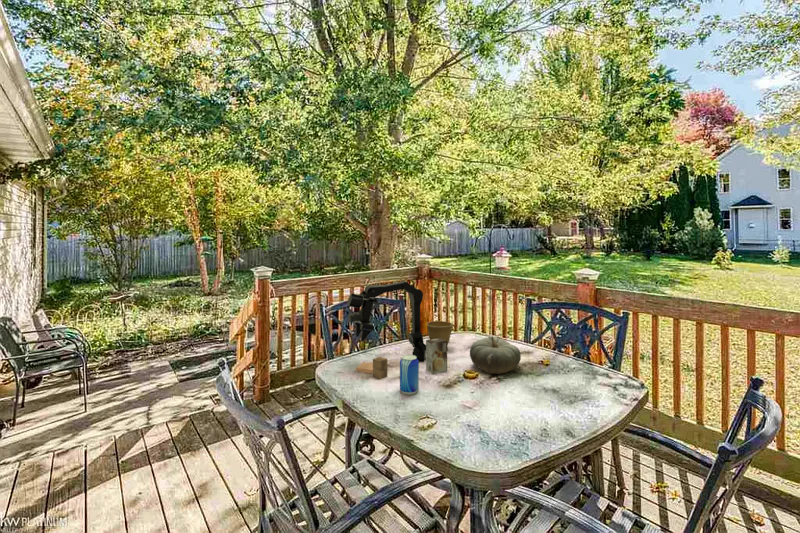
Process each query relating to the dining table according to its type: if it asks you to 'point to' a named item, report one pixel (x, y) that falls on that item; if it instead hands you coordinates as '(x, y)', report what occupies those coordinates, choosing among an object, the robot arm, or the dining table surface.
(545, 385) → the dining table surface
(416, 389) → the beer can
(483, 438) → the dining table surface
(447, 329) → the plant pot
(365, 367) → the terracotta tile
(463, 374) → the dining table surface
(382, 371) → the walnut block
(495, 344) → the gourd
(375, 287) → the robot arm
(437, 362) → the coffee box
